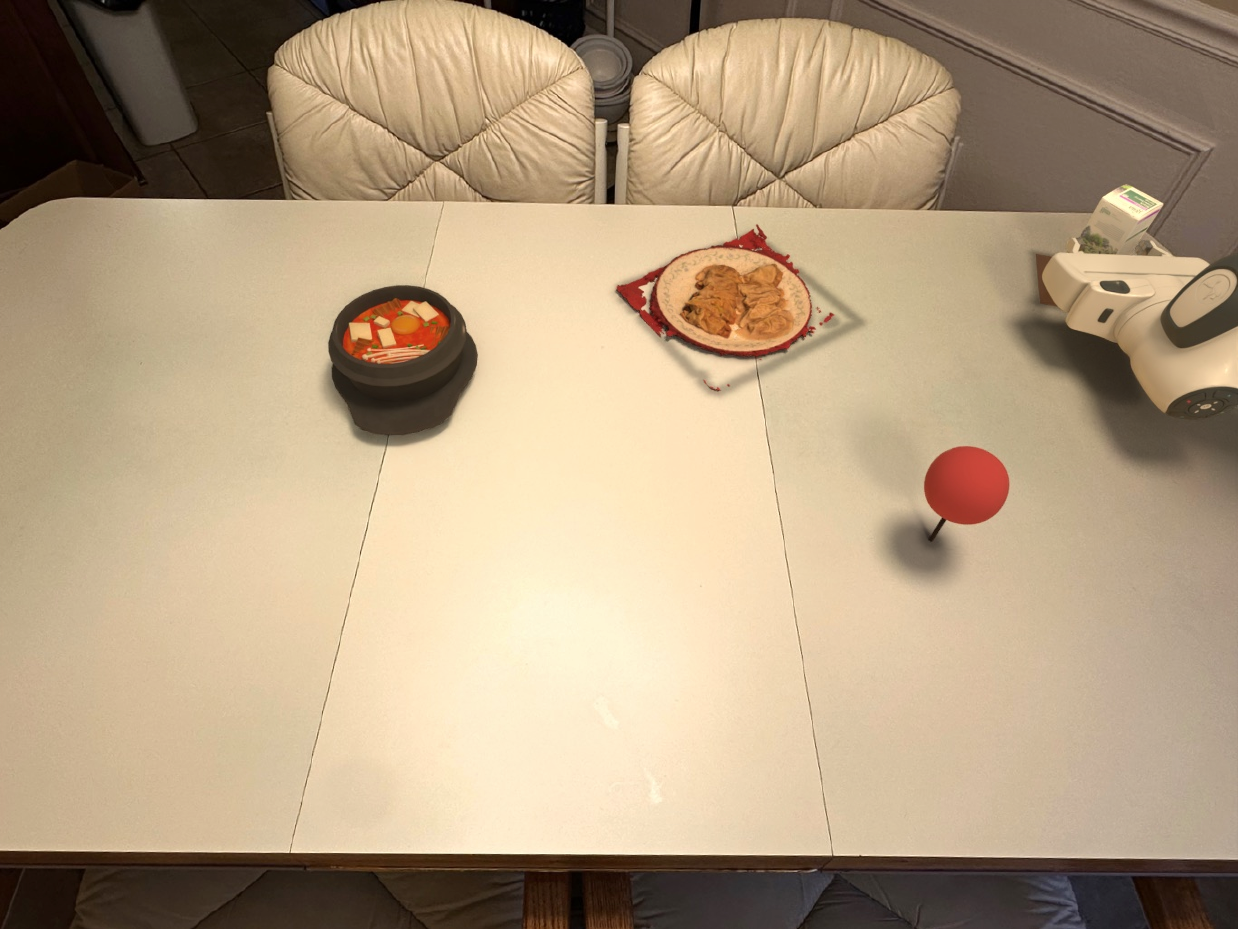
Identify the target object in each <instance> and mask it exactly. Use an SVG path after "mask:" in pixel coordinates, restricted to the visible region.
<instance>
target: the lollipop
mask: <svg viewBox="0 0 1238 929" xmlns="http://www.w3.org/2000/svg"><path fill="white" fill-rule="evenodd" d="M923 492H924V496H925V499H926V500H925V501H926V502H927V504H928V506H929V507H930V508H931V510H932V511H934V513H935V514H936V515H938V516H939V517H941V518H940V520H939V521H938V523H937V525H935V527H934V529H933V531H932V532H931V534H930V536H929V537H928V542H929V543H932V542H934V540H935V538H936V537H937V536H938V535H939V533H940V531H941V529H942V528H943V526H944V525H945V523H946V522H947V521H948V522H950V523H953V524H958V525H965V526H966V525H967V526H970V525H971V526H972V525H977V524H983V523H984V522H986V521H988V520H990V519H992V518H994V517H995V516H996V515H997V514H998V513H999V512H1000V511H1001V510H1002V508H1003V506H1004V505H1005V503H1006V501H1007V499H1008V497H1009V493H1010V477H1009V473H1008V471H1007V468H1006V467H1005V465H1004V463H1003V462H1002V461H1001V460H1000V459H999V458H998V457H997V456H996V455H994V454H993V453H991V452H990V451H988V450H986V449H983V448H980V447H976V446H972V445H971V446H970V445H961V446H955V447H952V448H948V449H946V450H945V451H943V452H942V453H939V455H937V456H936V457H935V459H934V460H933V461H932V462H931V464H930V465H929V466H928V468H927V470H926V473H925V476H924V480H923Z"/></svg>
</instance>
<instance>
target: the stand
mask: <svg viewBox="0 0 1238 929" xmlns="http://www.w3.org/2000/svg"><path fill="white" fill-rule="evenodd" d="M1052 257H1053V256H1052V255H1051V256H1050V255H1045V254H1039V253H1035V261H1036V262H1035V263H1036V271H1037V285H1038V297H1039V304H1041V305H1046V306H1047V305H1048V306H1052V307H1057V308H1059V307H1058V306H1057V305H1056V304H1055V302H1054V301H1053V299H1052V297H1051V296H1050V294H1049V292H1048V290H1047V289H1046V287H1045V284H1044V282H1043V279H1042V274H1043V271H1044V269H1045V267H1046V265H1047V264H1048V262H1049V261H1050V259H1051V258H1052Z"/></svg>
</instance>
